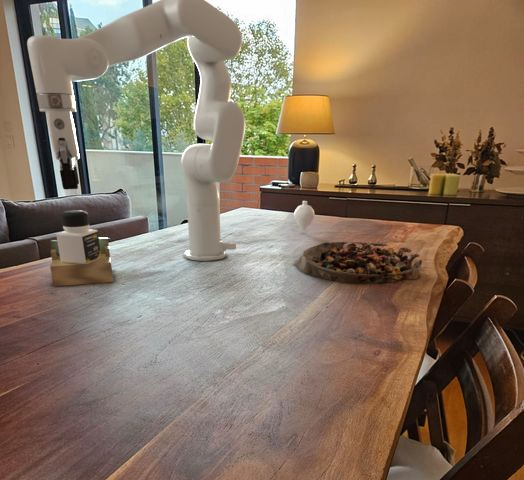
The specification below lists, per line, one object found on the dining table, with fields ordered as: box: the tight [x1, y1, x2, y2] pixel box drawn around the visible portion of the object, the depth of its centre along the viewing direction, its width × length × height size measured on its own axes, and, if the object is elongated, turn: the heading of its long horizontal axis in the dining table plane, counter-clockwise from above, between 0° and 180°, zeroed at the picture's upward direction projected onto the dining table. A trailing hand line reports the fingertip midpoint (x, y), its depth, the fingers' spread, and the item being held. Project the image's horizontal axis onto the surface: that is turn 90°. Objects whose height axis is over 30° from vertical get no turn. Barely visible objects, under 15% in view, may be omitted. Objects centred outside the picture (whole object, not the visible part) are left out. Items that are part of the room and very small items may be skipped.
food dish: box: [294, 241, 423, 284], centre depth 129 cm, size 35×33×8 cm
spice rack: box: [49, 237, 114, 287], centre depth 116 cm, size 14×11×9 cm
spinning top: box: [293, 200, 315, 234], centre depth 173 cm, size 8×8×12 cm
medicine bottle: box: [55, 209, 101, 264], centre depth 112 cm, size 7×7×12 cm
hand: (71, 186), depth 108 cm, fingers open, 9 cm apart
